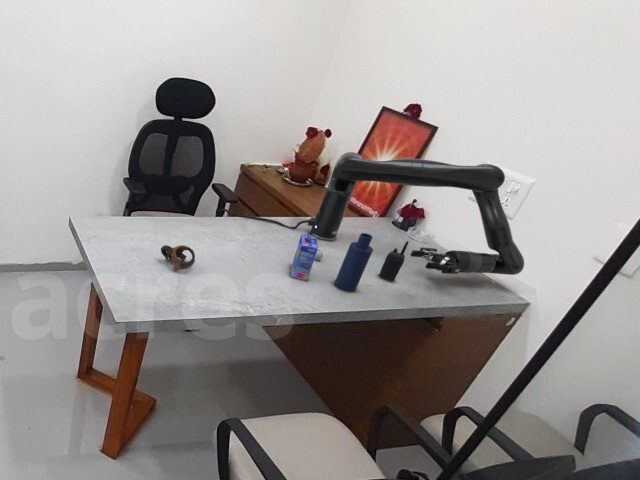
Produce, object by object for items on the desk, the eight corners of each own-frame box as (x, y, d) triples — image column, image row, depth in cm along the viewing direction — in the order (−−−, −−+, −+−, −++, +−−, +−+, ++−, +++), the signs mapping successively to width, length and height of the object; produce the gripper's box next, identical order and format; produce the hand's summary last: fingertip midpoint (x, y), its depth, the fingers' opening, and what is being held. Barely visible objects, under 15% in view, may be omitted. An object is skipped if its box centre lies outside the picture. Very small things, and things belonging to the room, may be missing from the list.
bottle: (332, 286, 172) (353, 235, 162) (336, 279, 177) (357, 229, 167) (352, 294, 169) (375, 242, 159) (357, 286, 174) (379, 235, 164)
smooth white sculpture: (321, 264, 188) (312, 261, 186) (308, 253, 195) (299, 250, 193) (328, 254, 186) (319, 250, 184) (315, 243, 193) (305, 240, 191)
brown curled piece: (192, 262, 179) (201, 249, 171) (183, 282, 174) (192, 270, 167) (161, 246, 179) (168, 233, 172) (151, 267, 175) (158, 254, 168)
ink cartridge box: (290, 264, 183) (303, 227, 175) (306, 268, 182) (320, 231, 174) (290, 277, 175) (304, 238, 167) (307, 281, 174) (321, 242, 166)
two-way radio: (395, 280, 180) (414, 241, 172) (391, 284, 177) (410, 245, 169) (379, 274, 183) (396, 236, 175) (375, 278, 180) (393, 239, 172)
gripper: (453, 242, 183) (411, 240, 181) (482, 262, 171) (437, 259, 169) (443, 261, 187) (402, 258, 185) (471, 281, 175) (427, 279, 173)
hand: (419, 259), depth 177 cm, fingers open, 8 cm apart
